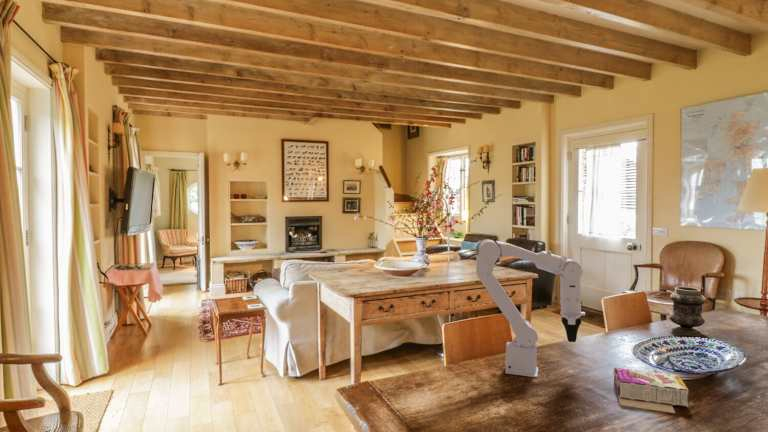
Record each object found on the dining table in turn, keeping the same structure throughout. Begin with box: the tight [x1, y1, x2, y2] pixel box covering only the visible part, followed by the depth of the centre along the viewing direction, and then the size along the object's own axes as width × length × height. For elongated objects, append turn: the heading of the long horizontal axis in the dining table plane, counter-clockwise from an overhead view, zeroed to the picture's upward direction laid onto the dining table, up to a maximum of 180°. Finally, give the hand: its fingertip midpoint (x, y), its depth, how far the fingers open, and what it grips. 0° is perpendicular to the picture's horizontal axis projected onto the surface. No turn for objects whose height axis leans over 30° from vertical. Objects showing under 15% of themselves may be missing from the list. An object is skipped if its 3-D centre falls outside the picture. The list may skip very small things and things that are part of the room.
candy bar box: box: [613, 367, 690, 408], centre depth 123 cm, size 11×5×16 cm
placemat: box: [614, 386, 676, 414], centre depth 122 cm, size 12×13×1 cm
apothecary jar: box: [668, 285, 706, 337], centre depth 180 cm, size 12×12×18 cm
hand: (571, 341), depth 138 cm, fingers closed
